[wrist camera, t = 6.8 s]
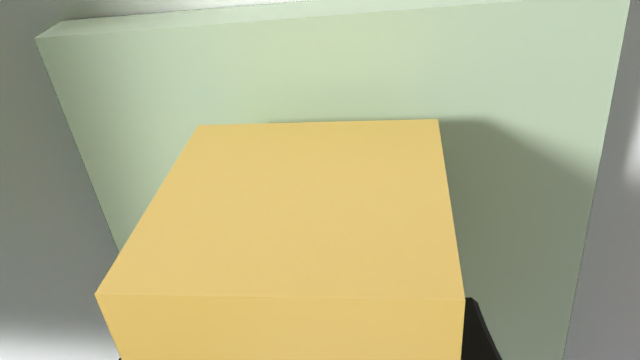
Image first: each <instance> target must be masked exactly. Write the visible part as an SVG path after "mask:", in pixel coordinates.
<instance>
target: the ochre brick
mask: <svg viewBox="0 0 640 360" xmlns="http://www.w3.org/2000/svg"><path fill="white" fill-rule="evenodd" d="M94 295H95V297H96V300H97V302H98V305H99V307H100V309H101V312H102V314H103V317H104V319H105V321H106V324H107V326H108V328H109V331H110V333H111V336H112V338H113V340H114V343H115V345H116V348H117V350H118V352H119V355H120V357H121V360H461V349H462V336H463V324H464V312H465V295H464V288H463V281H462V275H461V268H460V262H459V255H458V248H457V242H456V235H455V229H454V222H453V215H452V209H451V202H450V195H449V189H448V182H447V176H446V169H445V162H444V156H443V149H442V143H441V136H440V129H439V123H438V119H415V120H376V121H337V122H298V123H259V124H220V125H198V126H197V128H196V129H195V131H194V132H193V134H192V136H191V137H190V139H189V141H188V142H187V144H186V145H185V147H184V149H183V150H182V152H181V154H180V155H179V157H178V159H177V160H176V162H175V163H174V165H173V167H172V168H171V170H170V172H169V173H168V175H167V176H166V178H165V180H164V181H163V183H162V185H161V186H160V188H159V190H158V191H157V193H156V194H155V196H154V198H153V199H152V201H151V203H150V204H149V206H148V207H147V209H146V211H145V212H144V214H143V216H142V217H141V219H140V221H139V222H138V224H137V225H136V227H135V229H134V230H133V232H132V234H131V235H130V237H129V238H128V240H127V242H126V243H125V245H124V247H123V248H122V250H121V252H120V253H119V255H118V256H117V258H116V260H115V261H114V263H113V265H112V266H111V268H110V269H109V271H108V273H107V274H106V276H105V278H104V279H103V281H102V283H101V284H100V286H99V287H98V289H97V291H96V292H95V294H94Z"/></svg>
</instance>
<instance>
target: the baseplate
mask: <svg viewBox="0 0 640 360" xmlns="http://www.w3.org/2000/svg"><path fill="white" fill-rule="evenodd" d="M630 1H631V0H310V1H298V2H285V3H273V4H261V5H248V6H236V7H224V8H211V9H199V10H187V11H175V12H162V13H150V14H138V15H125V16H113V17H101V18H88V19H76V20H64V21H60V22H58V23H57V24H55V25H54V26H52V27H51V28H49V29H47V30H46V31H44V32H43V33H41V34H40V35H38V36H36V37H35V38H34V40H35V43H36V45H37V48H38V50H39V53H40V55H41V58H42V60H43V63H44V65H45V68H46V70H47V73H48V75H49V78H50V80H51V83H52V85H53V88H54V90H55V93H56V95H57V98H58V100H59V103H60V105H61V108H62V110H63V113H64V116H65V118H66V121H67V123H68V126H69V128H70V131H71V133H72V136H73V138H74V141H75V143H76V146H77V148H78V151H79V153H80V156H81V158H82V161H83V163H84V166H85V168H86V171H87V173H88V176H89V178H90V181H91V183H92V186H93V188H94V191H95V194H96V196H97V199H98V201H99V204H100V206H101V209H102V211H103V214H104V216H105V219H106V221H107V224H108V226H109V229H110V231H111V234H112V236H113V239H114V241H115V244H116V246H117V249H118V251H119V253H120V252H121V250H122V248H123V247H124V245H125V243H126V242H127V240H128V238H129V237H130V235H131V234H132V232H133V230H134V229H135V227H136V225H137V224H138V222H139V221H140V219H141V217H142V216H143V214H144V212H145V211H146V209H147V207H148V206H149V204H150V203H151V201H152V199H153V198H154V196H155V194H156V193H157V191H158V190H159V188H160V186H161V185H162V183H163V181H164V180H165V178H166V176H167V175H168V173H169V172H170V170H171V168H172V167H173V165H174V163H175V162H176V160H177V159H178V157H179V155H180V154H181V152H182V150H183V149H184V147H185V145H186V144H187V142H188V141H189V139H190V137H191V136H192V134H193V132H194V131H195V129H196V128H197V126H198V125H220V124H259V123H298V122H337V121H376V120H415V119H438V123H439V129H440V136H441V143H442V149H443V156H444V162H445V169H446V176H447V182H448V189H449V195H450V202H451V209H452V215H453V222H454V229H455V235H456V242H457V248H458V255H459V262H460V268H461V275H462V281H463V288H464V295H465V297H472V298H473V299H474V300H475V301H477V302H478V304H479V307H480V310H481V313H482V316H483V318H484V321H485V323H486V326H487V328H488V330H489V332H490V335H491V337H492V339H493V341H494V343H495V346H496V348H497V350H498V352H499V354H500V356H501V358H502V360H563V355H564V350H565V344H566V339H567V334H568V328H569V323H570V318H571V313H572V307H573V302H574V297H575V291H576V286H577V281H578V276H579V270H580V265H581V260H582V254H583V249H584V244H585V239H586V233H587V228H588V223H589V217H590V212H591V207H592V202H593V196H594V191H595V186H596V180H597V175H598V170H599V164H600V159H601V154H602V149H603V143H604V138H605V133H606V127H607V122H608V117H609V112H610V106H611V101H612V96H613V90H614V85H615V80H616V75H617V69H618V64H619V59H620V53H621V48H622V43H623V38H624V32H625V27H626V22H627V16H628V11H629V6H630Z"/></svg>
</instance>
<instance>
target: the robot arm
mask: <svg viewBox="0 0 640 360" xmlns="http://www.w3.org/2000/svg"><path fill="white" fill-rule="evenodd" d="M119 360H121V358H120V359H119ZM461 360H502V358H501V356H500V354H499V352H498V350H497V348H496V346H495V343H494V341H493V339H492V337H491V335H490V332H489V330H488V328H487V326H486V323H485V321H484V318H483V316H482V313H481V310H480V307H479V304H478V302H477V301H475V300H474V299H473V298H472V297H465V312H464V324H463V336H462V349H461Z"/></svg>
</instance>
